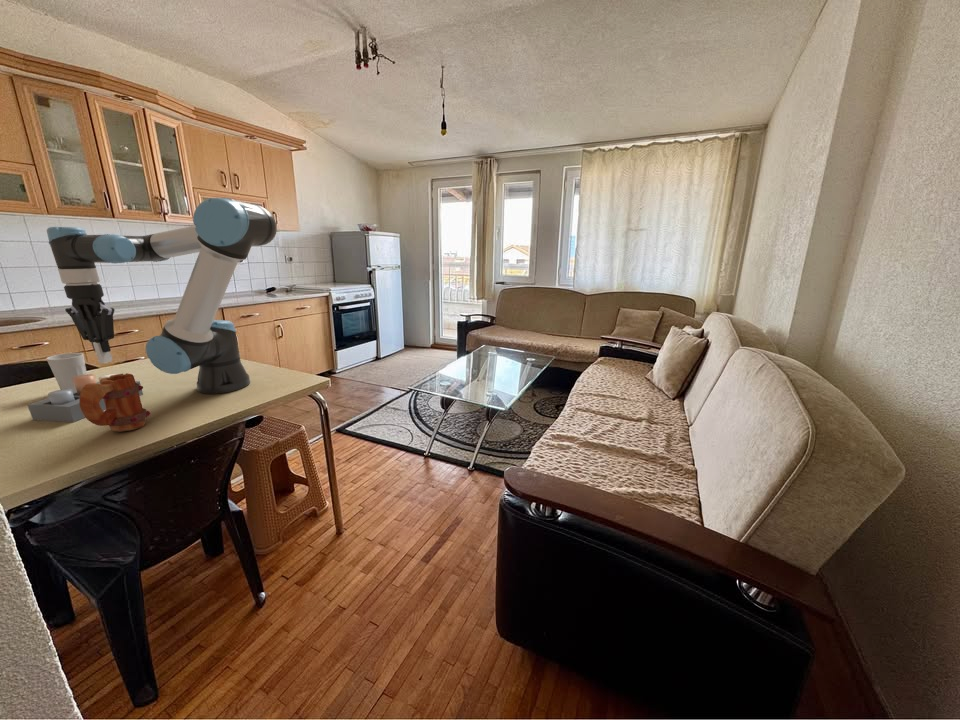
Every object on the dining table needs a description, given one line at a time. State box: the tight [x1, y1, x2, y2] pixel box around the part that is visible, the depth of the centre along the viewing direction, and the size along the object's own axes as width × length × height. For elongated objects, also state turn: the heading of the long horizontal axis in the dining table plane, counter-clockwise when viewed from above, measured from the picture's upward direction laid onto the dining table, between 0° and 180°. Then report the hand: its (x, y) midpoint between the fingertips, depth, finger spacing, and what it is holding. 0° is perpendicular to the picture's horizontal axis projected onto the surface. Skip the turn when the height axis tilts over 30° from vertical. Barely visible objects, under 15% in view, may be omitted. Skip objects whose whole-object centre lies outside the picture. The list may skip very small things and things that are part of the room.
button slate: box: [47, 389, 75, 405], centre depth 102 cm, size 4×4×5 cm
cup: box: [45, 352, 88, 390], centre depth 119 cm, size 8×8×12 cm
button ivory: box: [98, 373, 117, 382], centre depth 115 cm, size 4×4×5 cm
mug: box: [80, 372, 151, 433], centre depth 93 cm, size 15×8×15 cm, turn 5°
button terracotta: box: [73, 373, 98, 395], centre depth 108 cm, size 4×4×5 cm
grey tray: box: [27, 380, 144, 423], centre depth 109 cm, size 12×20×4 cm, turn 176°
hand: (106, 362), depth 113 cm, fingers closed
